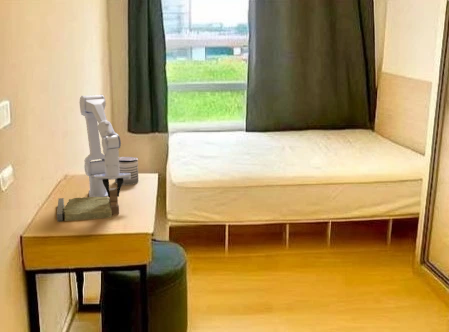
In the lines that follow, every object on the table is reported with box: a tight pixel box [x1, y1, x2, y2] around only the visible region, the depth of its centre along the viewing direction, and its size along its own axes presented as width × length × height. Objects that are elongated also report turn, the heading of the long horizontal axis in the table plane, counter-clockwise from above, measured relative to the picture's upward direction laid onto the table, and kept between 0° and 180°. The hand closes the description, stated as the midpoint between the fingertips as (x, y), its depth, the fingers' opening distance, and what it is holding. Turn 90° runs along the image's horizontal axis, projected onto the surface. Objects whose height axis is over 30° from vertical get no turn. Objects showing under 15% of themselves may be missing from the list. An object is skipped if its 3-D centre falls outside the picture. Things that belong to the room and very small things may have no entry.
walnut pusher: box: [108, 187, 120, 215], centre depth 230 cm, size 16×3×8 cm, turn 14°
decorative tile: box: [63, 196, 113, 222], centre depth 226 cm, size 19×20×4 cm
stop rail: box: [56, 197, 65, 222], centre depth 223 cm, size 20×2×3 cm, turn 14°
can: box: [114, 156, 139, 186], centre depth 266 cm, size 11×11×12 cm
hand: (113, 196), depth 230 cm, fingers closed on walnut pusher, 3 cm apart
